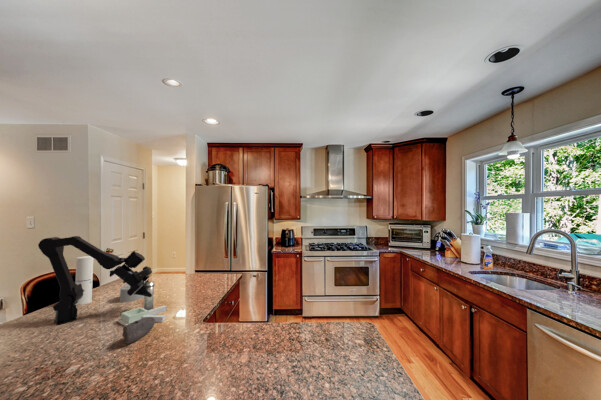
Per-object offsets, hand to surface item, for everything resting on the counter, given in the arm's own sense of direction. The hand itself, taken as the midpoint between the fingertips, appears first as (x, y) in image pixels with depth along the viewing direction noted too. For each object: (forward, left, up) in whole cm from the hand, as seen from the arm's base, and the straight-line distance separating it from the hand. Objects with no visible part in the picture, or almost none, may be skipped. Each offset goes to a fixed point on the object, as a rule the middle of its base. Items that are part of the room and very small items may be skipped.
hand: (152, 294), depth 123 cm
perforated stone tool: (-16, -24, -8) cm, 30 cm away
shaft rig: (-6, -10, -8) cm, 14 cm away
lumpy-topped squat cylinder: (+2, +28, -8) cm, 29 cm away
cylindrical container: (-16, +43, -8) cm, 46 cm away
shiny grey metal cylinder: (-1, +1, -8) cm, 8 cm away
